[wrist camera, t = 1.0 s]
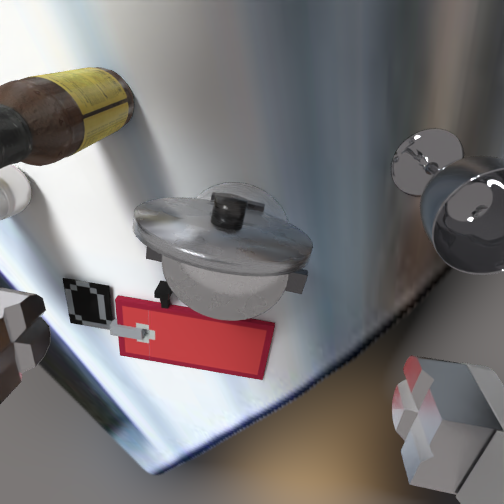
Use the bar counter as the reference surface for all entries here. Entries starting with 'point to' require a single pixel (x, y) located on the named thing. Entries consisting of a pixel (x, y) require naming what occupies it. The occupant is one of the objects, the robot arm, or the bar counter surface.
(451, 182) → the wine glass
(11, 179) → the plastic bottle
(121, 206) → the bar counter surface
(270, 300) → the pot
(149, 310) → the red board with handle
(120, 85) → the sauce bottle
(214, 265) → the lid
